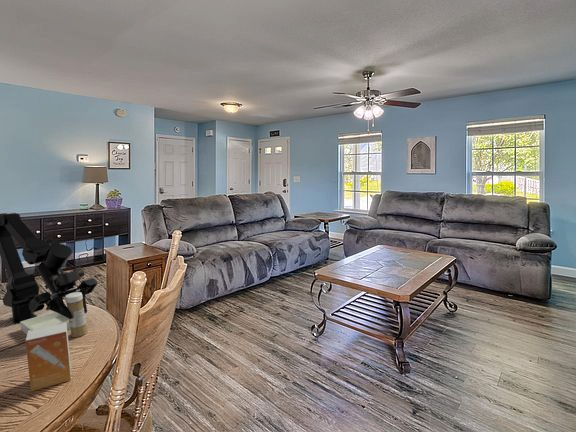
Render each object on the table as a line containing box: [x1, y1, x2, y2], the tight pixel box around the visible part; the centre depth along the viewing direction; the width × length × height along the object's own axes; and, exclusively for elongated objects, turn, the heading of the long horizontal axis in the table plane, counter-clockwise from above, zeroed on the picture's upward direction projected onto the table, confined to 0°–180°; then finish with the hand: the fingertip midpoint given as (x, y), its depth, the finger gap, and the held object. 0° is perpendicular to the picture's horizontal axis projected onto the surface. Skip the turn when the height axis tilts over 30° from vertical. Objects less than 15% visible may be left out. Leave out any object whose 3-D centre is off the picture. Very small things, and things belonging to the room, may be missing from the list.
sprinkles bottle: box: [64, 292, 88, 338], centre depth 105 cm, size 5×5×13 cm
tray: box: [20, 311, 71, 335], centre depth 111 cm, size 13×13×3 cm
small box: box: [25, 322, 72, 392], centre depth 82 cm, size 8×6×13 cm
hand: (79, 315), depth 104 cm, fingers closed on sprinkles bottle, 4 cm apart
